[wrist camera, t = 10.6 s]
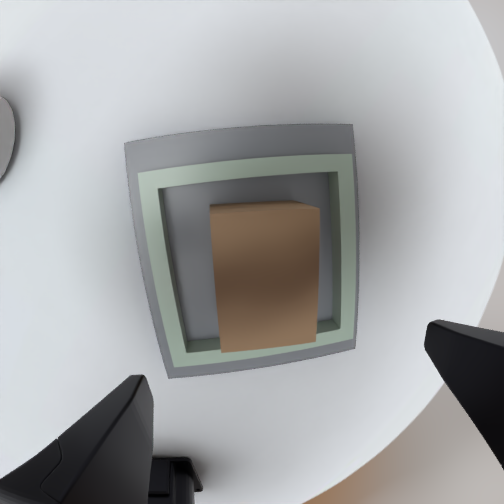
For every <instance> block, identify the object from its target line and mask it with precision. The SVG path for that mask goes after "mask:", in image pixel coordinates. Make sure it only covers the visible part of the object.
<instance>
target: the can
mask: <svg viewBox="0 0 504 504" xmlns="http://www.w3.org/2000/svg"><path fill="white" fill-rule="evenodd" d="M14 141H15V121H14V116H13V111H12V109H11V107H10V105H9V104H8V102H7V100H5V99H4V98H2V97H1V96H0V178H1V177H2V176H3V174H4V173H5V170H6V168H7V165H8V163H9V161H10V158H11V155H12V150H13V145H14Z"/></svg>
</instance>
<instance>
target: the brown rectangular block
mask: <svg viewBox="0 0 504 504" xmlns="http://www.w3.org/2000/svg"><path fill="white" fill-rule="evenodd" d="M210 227H211V242H212V256H213V269H214V281H215V293H216V305H217V316H218V326H219V336H220V346H221V353H227V352H238V351H248V350H258V349H267V348H275V347H283V346H291V345H298V344H305V343H312V342H316V331H317V313H318V289H319V250H320V208H317V207H314V206H311V205H307V204H304V203H301V202H298V201H294V200H288V201H264V202H244V203H227V204H211V205H210Z"/></svg>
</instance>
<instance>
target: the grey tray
mask: <svg viewBox="0 0 504 504" xmlns="http://www.w3.org/2000/svg"><path fill="white" fill-rule="evenodd" d="M124 146H125V158H126V168H127V177H128V186H129V194H130V202H131V209H132V216H133V223H134V229H135V236H136V242H137V247H138V253H139V258H140V264H141V269H142V274H143V279H144V284H145V289H146V293H147V298H148V302H149V307H150V311H151V315H152V320H153V324H154V328H155V332H156V336H157V340H158V343H159V347H160V351H161V354H162V358H163V362H164V365H165V369H166V372H167V375H168V379H170V378H182V377H193V376H203V375H212V374H220V373H228V372H236V371H243V370H250V369H256V368H263V367H269V366H275V365H280V364H286V363H291V362H297V361H302V360H307V359H312V358H316V357H321V356H326V355H330V354H335V353H339V352H343V351H347V350H351V349H355V346H356V333H357V316H358V294H359V208H358V186H357V169H356V156H355V144H354V134H353V124H288V125H265V126H249V127H236V128H225V129H215V130H205V131H197V132H189V133H181V134H174V135H168V136H161V137H155V138H149V139H143V140H137V141H132V142H127V143H124ZM288 200H294V201H298V202H301V203H304V204H307V205H311V206H314V207H317V208H320V250H319V289H318V313H317V331H316V342H312V343H305V344H298V345H291V346H283V347H275V348H267V349H258V350H248V351H238V352H227V353H221V346H220V336H219V326H218V316H217V305H216V293H215V281H214V269H213V256H212V242H211V227H210V205H211V204H227V203H244V202H264V201H288Z"/></svg>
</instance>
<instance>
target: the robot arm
mask: <svg viewBox="0 0 504 504" xmlns="http://www.w3.org/2000/svg"><path fill="white" fill-rule="evenodd" d="M424 347H425V350H426V352H427V354H428V355H429V357H430V359H431V360H432V362H433V363H434V365H435V367H436V368H437V370H438V372H439V374H440V375H441V377H442V379H443V380H444V382H445V383H446V385H447V386H448V387H449V389H450V390H451V391H452V393H453V394H454V396H455V397H456V398H457V400H458V401H459V403H460V404H461V405H462V407H463V408H464V409H465V411H466V413H467V414H468V415H469V417H470V418H471V420H472V421H473V423H474V424H475V426H476V427H477V429H478V430H479V432H480V433H481V434H482V436H483V437H484V439H485V440H486V442H487V444H488V445H489V447H490V448H491V450H492V451H493V453H494V454H495V456H496V458H497V459H498V461H499V463H500V464H501V465H502V468H503V470H504V332H498V331H494V330H489V329H484V328H479V327H474V326H469V325H464V324H459V323H454V322H449V321H444V320H435V321H432V322H430V323H429V324H428V326H427V331H426V336H425V341H424ZM153 408H154V402H153V396H152V393H151V390H150V388H149V385H148V382H147V379H146V377H145V376H144V375H131V376H129V377H128V378H127V379H126V380H124V381H123V382H122V383H121V384H120V385H119V386H118V387H116V388H115V389H114V390H113V391H112V392H111V393H109V394H108V395H107V396H106V397H105V398H104V399H102V400H101V401H100V402H99V403H98V404H97V405H95V406H94V407H93V408H92V409H91V410H90V411H88V412H87V413H86V414H85V415H84V416H82V417H81V418H80V419H79V420H78V421H77V422H75V423H74V424H73V425H72V426H71V427H70V428H68V429H67V430H66V431H65V432H64V433H62V434H61V435H60V436H59V437H58V439H55V440H54V441H53V442H52V443H50V444H49V445H48V446H47V447H46V448H44V449H43V450H42V451H40V452H39V453H38V454H37V455H35V456H34V457H33V458H31V459H30V460H28V461H27V462H25V463H24V464H22V465H21V466H19V467H18V468H16V469H15V470H13V471H12V472H10V473H9V474H7V475H6V476H4V477H3V478H1V479H0V504H195V502H194V492H201V491H203V487H202V484H201V482H200V480H199V478H198V475H197V473H196V471H195V468H194V466H193V464H192V461H191V460H190V459H189V458H159V459H152V452H153Z"/></svg>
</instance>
